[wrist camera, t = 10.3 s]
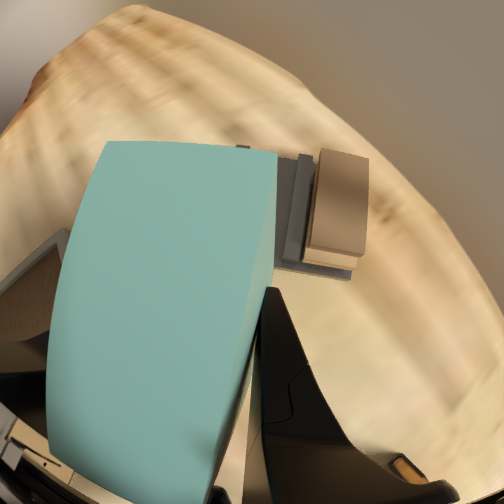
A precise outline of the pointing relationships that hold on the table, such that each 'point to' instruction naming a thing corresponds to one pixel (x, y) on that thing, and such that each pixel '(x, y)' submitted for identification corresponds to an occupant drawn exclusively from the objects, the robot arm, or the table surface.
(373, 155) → the table surface
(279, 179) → the rack
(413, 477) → the ammunition clip
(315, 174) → the offcut middle
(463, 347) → the table surface
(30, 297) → the picture frame
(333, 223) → the offcut top
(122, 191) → the teal rectangular block
